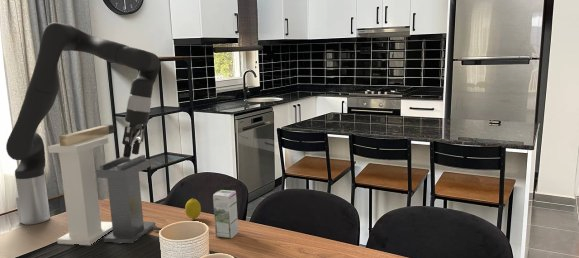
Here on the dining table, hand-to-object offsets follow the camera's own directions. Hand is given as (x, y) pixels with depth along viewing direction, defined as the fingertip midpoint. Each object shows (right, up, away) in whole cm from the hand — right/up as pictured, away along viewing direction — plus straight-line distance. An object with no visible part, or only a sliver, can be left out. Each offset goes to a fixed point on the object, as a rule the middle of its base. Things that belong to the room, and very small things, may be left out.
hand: (130, 155), depth 149 cm
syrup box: (+34, -26, -7) cm, 44 cm away
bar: (-13, +6, -3) cm, 15 cm away
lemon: (+20, -24, +8) cm, 32 cm away
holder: (+1, -26, -4) cm, 26 cm away
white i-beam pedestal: (-13, -27, -3) cm, 30 cm away
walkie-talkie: (+17, -27, -8) cm, 33 cm away
